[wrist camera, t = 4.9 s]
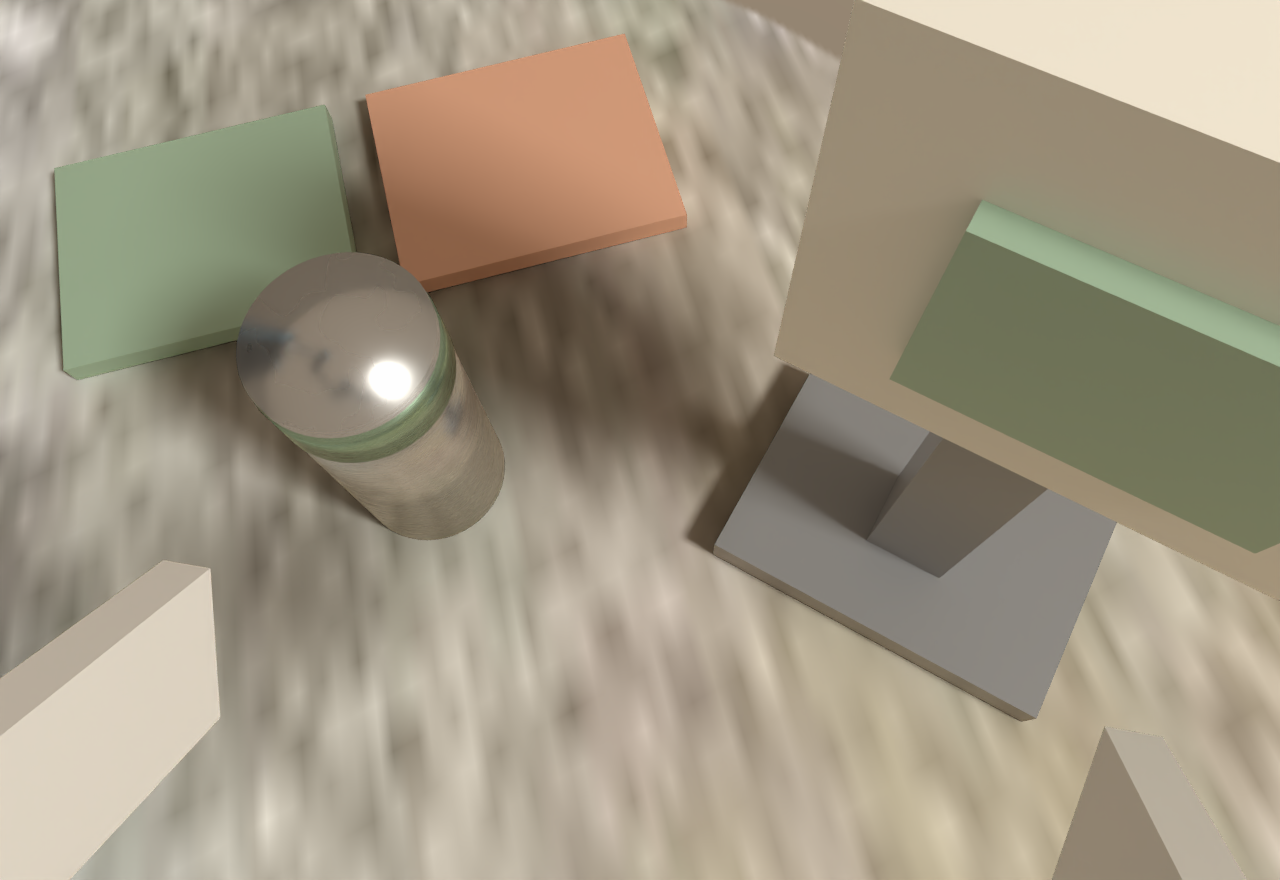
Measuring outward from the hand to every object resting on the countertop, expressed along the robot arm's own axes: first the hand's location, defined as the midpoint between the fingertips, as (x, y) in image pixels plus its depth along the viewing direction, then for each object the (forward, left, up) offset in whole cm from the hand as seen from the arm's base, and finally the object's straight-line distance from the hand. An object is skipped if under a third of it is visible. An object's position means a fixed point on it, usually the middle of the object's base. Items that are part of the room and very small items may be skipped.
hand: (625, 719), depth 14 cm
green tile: (-28, -14, -22) cm, 38 cm away
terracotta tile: (-28, +1, -22) cm, 35 cm away
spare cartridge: (-14, -6, -22) cm, 27 cm away
